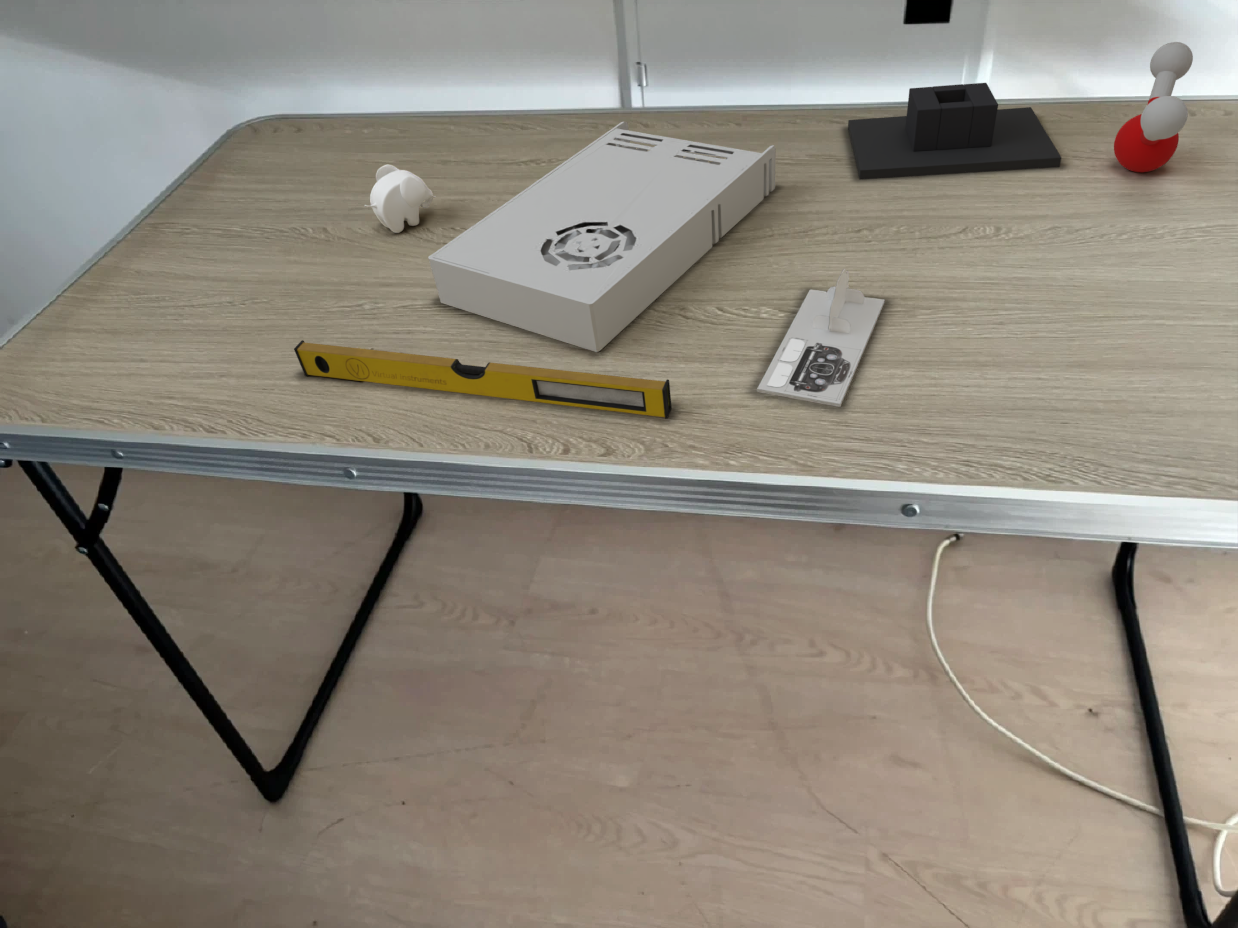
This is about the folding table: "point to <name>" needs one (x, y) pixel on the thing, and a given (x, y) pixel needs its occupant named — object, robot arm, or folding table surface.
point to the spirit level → (488, 379)
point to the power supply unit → (601, 235)
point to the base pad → (891, 154)
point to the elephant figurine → (398, 197)
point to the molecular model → (1156, 114)
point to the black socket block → (951, 117)
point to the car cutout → (823, 345)
